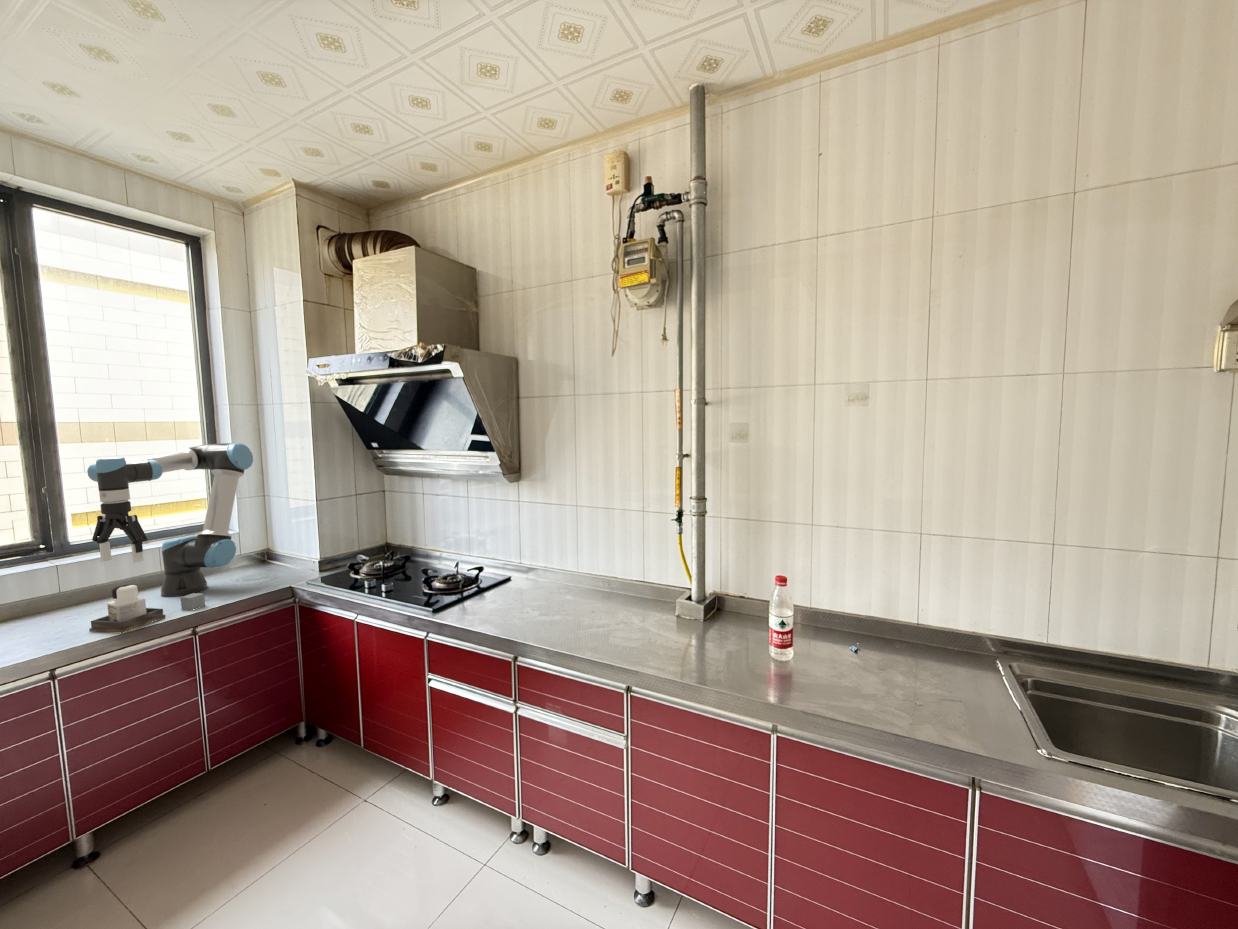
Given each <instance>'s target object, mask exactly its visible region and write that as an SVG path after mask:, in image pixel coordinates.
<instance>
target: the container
mask: <svg viewBox="0 0 1238 929" xmlns="http://www.w3.org/2000/svg"><path fill="white" fill-rule="evenodd" d="M111 594H112V601H108V602H107V603H106V605H107V606H106V607H107V614H108V615H109V621H113V622H124V621H127V620H130V619H133V618H135V617H138V616H141V615H144V614H147V612H146V608H147V605H146V604H147V603H146V598H144V597H140V596H139V595H140V594H139V587H138V585H137V584H134V583H129V584H122V585H121V584H120V585H118V586H115V587H114V588H113V589H112V590H111ZM108 615H107V616H108Z"/></svg>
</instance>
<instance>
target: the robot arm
mask: <svg viewBox="0 0 1238 929" xmlns="http://www.w3.org/2000/svg"><path fill="white" fill-rule="evenodd" d="M253 463H254V456H253V453H252V451H251V448H249V447H248V446H247V445H245V444H244V443H239V442H238V443H237V442H236V443H235V442H227V443H224V442H223V443H206V444H200V445H197V446H191V447H186V448H181V449H180V450H179V451H174V452H167V453H161V454H153V455H152V454H151V455H147V456H146V455H145V456H140V457H139V456H138V457H131V458H130V457H129V458H125V457H121V456H120V457H118V456H117V457H102V458H101V457H100V458H98V459H97V460H95V462H93V463H91V464H90V465H89V466H88V467H87V471H86V472H87V475H88V478H89V479H90V480H91V481H93V482H96V483H97V487H98V488H97V489H98V493H99V494H98V495H99V502H100V512H101V514H100V515H97V517H96V518H97V519H96V521H97V522H96V525H95V528H94V532H93V536H92V539H91V541H92V542H96V543H97V544H98V550H99V554H100V562H101V563H102V562H108V561H111V560H112V559H113V558H112V551H111V550H112V549H111V543H110V541H109V539H110V537H111V536H112V534H113V532H114V530H115V529H119V530H121V531H123V533H124V534H125V535H126V536H127V538H129V540H130V541H131V543H130V547H131V553H132V554H131V555H132V563H133V564H134V563H138V562H142V561H144V555H143V554H144V553H143V551H144V548H143V543H144V542H146V541H148V537H147V535H146V533H145V531H144V529H143V528H142V526H141V524H140V522H139V519H138V516H137V514H133V515H129V513H130V512H131V511H132V506H131V501H130V500H131V494H130V486H129V484H131V483H138V482H141V483H142V482H151V481H154V480H155V481H156V480H159V478H161V477H162V475H163V473H167V472H174V471H180V470H185V471H195V470H210V472H211V473H212V475H213V480H212V485H211V489H210V494H209V499H208V504H207V510H206V514H205V518H204V519H205V520H204V524H203V529H202V530H201V531H200V532H199V533H197V535H193V534H192V535H187V536H181V537H177V538H173V539H169V540H166V541H164V542H163V543H162V545H161V549H162V550H161V554H162V555H161V556H162V562H163V570H164V578H163V582H162V585H161V589H160V595H161V597H164V598H165V597H167V598H171V597H183V596H186V595H189V594H192V593H195V592H196V593H198V592H202V591H204V590H206V589H208V581H207V580H206V577H205V576H204V574H203V573H202V570H201V568H209V569H215V568H221V567H225V566H227V565H228V564H230V563H231V562H232V561H233V559H234V558H235V557H236V556H235V555H236V553H237V546H236V543H235V541H233V540H232V535H231V534H230V532H229V529H230V525H231V519H232V514H233V509H234V503H235V498H236V493H237V488H238V483H239V479H240V478H241V477H243V476H244V474H245V470H248V469H249V468H250V467H252V465H253Z"/></svg>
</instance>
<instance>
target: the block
mask: <svg viewBox="0 0 1238 929" xmlns="http://www.w3.org/2000/svg"><path fill="white" fill-rule="evenodd" d="M179 598H180V607H181V611H191V610H193V609H195V610H197V609H196V608H198V609H200V608H199V607H201V608H203V607H202V606H204V607H205V606H206V598H205V593H201V592H200V593H198V592H196V593H192V594H187V595H182V596H179ZM193 611H194V610H193Z"/></svg>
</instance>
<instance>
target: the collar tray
mask: <svg viewBox="0 0 1238 929" xmlns="http://www.w3.org/2000/svg"><path fill="white" fill-rule="evenodd" d="M163 610H164V609H163V608H154V607H146V612H147V614H144V615H141V616H138V617H135V618H133V619H130V620H127V621H124V622H113V621H109V615H105V616H101V617H99V618H96V619H92V620H90V626H91V627H89V632H93V633H94V632H98V633H110V632H121V633H120V634H124V633H123V632H125V631H127V632H130V631H132V630H131V629H133V630H135V629H134V628H136V629H138V628H140V626H141V627H143V625H144V626H146V625H145V624H147V623H149V624H151V623H150V622H152V621H155V620H158V621H160V620H163V619H165V617H166V614H164V611H163ZM162 618H163V619H162ZM159 619H160V620H159ZM155 622H156V621H155ZM152 623H153V622H152ZM147 625H148V624H147ZM137 627H138V628H137ZM129 630H130V631H129ZM125 633H126V632H125Z"/></svg>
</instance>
